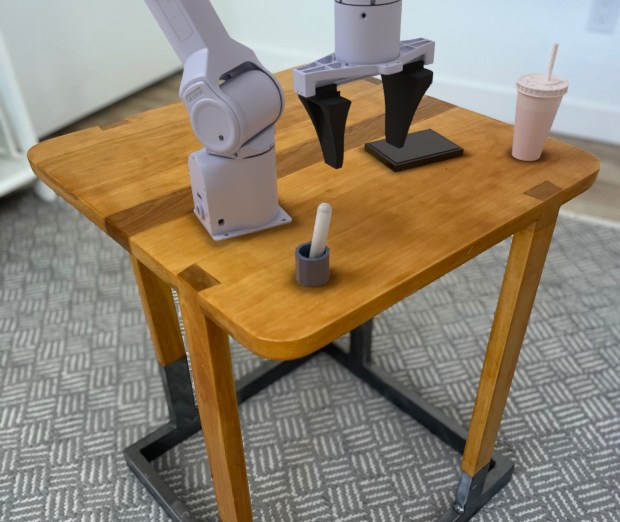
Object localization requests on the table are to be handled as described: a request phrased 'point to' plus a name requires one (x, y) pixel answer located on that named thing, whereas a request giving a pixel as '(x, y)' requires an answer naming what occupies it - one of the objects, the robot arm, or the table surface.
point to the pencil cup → (311, 266)
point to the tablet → (414, 150)
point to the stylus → (320, 230)
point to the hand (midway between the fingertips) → (364, 154)
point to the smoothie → (536, 110)
